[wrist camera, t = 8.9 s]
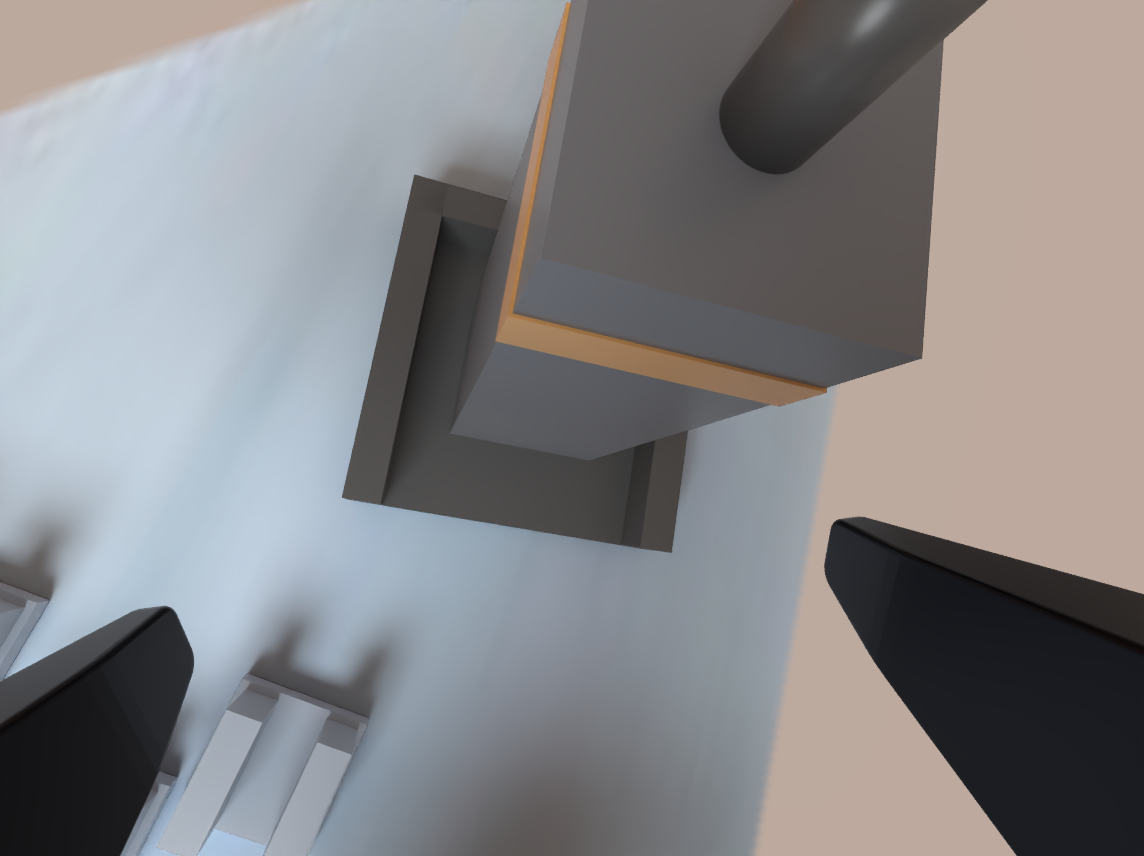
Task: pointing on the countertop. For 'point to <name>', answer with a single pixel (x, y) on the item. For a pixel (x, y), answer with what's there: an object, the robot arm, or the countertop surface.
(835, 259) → the connector
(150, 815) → the clips
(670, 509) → the dark grey square tray
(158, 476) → the countertop surface
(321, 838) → the countertop surface
